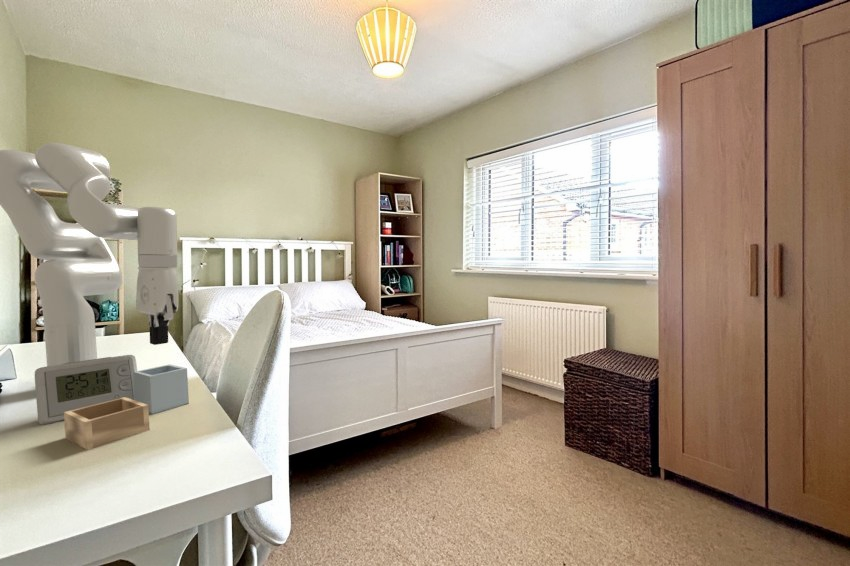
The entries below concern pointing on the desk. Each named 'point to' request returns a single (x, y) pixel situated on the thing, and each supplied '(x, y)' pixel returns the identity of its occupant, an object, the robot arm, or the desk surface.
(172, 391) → the light blue pen cup
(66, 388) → the digital clock
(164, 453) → the desk surface
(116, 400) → the oak box
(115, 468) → the desk surface
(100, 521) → the desk surface
